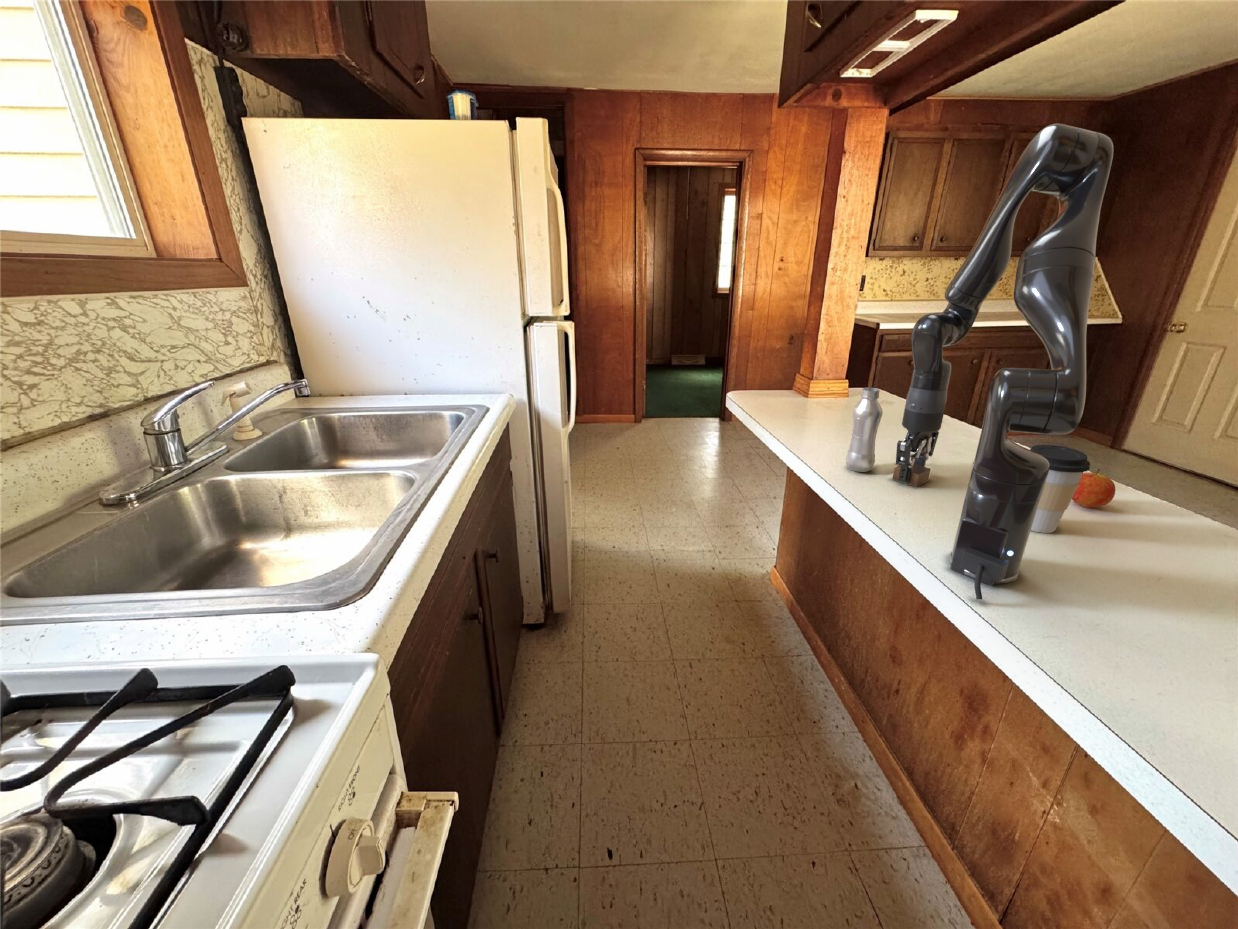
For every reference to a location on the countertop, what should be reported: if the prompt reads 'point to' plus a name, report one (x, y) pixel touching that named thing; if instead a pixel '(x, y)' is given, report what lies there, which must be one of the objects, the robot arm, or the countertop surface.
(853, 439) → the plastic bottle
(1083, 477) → the fruit
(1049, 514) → the coffee cup
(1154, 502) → the countertop surface
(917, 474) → the walnut block
